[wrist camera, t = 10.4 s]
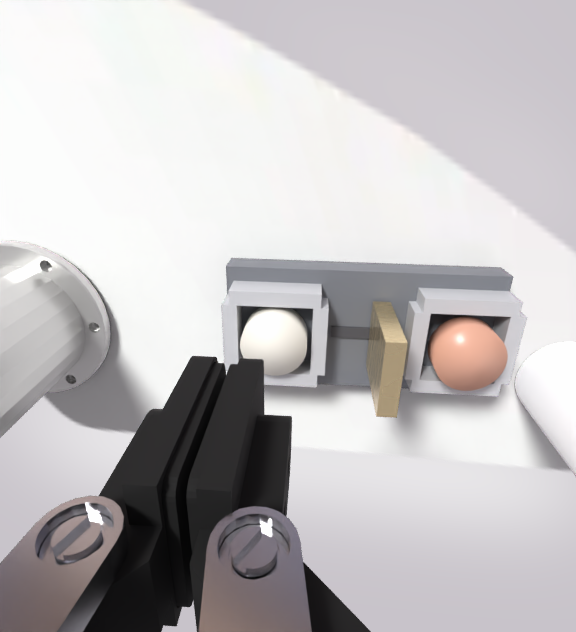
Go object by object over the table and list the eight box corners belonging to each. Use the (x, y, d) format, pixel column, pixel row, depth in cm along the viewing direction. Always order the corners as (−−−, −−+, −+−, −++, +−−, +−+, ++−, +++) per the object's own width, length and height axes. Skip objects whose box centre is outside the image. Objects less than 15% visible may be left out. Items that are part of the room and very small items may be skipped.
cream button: (245, 359, 31) (240, 374, 29) (244, 303, 29) (239, 314, 27) (306, 362, 31) (305, 377, 29) (308, 305, 29) (308, 317, 27)
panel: (235, 366, 34) (225, 394, 31) (231, 258, 31) (219, 275, 27) (482, 378, 33) (502, 408, 30) (508, 267, 30) (535, 287, 26)
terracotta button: (422, 372, 30) (429, 389, 28) (432, 314, 28) (441, 328, 26) (487, 376, 29) (499, 392, 28) (502, 317, 28) (515, 331, 26)
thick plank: (366, 365, 31) (376, 416, 25) (372, 301, 29) (385, 342, 23) (382, 365, 31) (396, 417, 25) (390, 302, 29) (407, 343, 23)
